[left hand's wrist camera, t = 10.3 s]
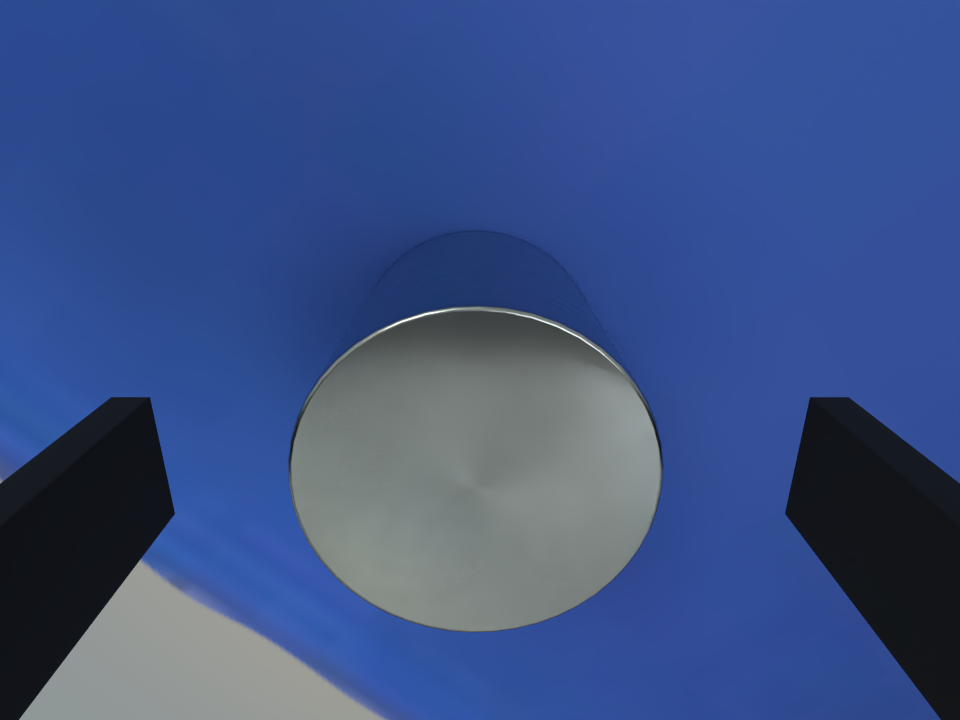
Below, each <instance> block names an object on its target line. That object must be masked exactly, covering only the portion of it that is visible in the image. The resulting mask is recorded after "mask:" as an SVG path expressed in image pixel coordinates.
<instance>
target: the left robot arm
mask: <svg viewBox="0 0 960 720" xmlns="http://www.w3.org/2000/svg"><path fill="white" fill-rule="evenodd" d="M174 514H175V512H174V507H173V503H172V498H171V493H170V489H169V484H168V479H167V475H166V470H165V465H164V461H163V456H162V451H161V447H160V442H159V437H158V433H157V428H156V424H155V419H154V414H153V410H152V405H151V400H150V397H111V398H110V399H109V400H107V401H106V402H105V403H104V404H102V405H101V406H100V407H98V408H97V409H96V410H95V411H93V412H92V413H91V414H89V415H88V416H87V417H86V418H84V419H83V420H82V421H80V422H79V423H78V424H77V425H75V426H74V427H73V428H71V429H70V430H69V431H67V432H66V433H65V434H64V435H62V436H61V437H60V438H58V439H57V440H56V441H55V442H53V443H52V444H51V445H49V446H48V447H47V448H46V449H44V450H43V451H42V452H40V453H39V454H38V455H37V456H35V457H34V458H33V459H31V460H30V461H29V462H28V463H26V464H25V465H24V466H22V467H21V468H20V469H19V470H17V471H16V472H15V473H13V474H12V475H11V476H10V477H8V478H7V479H6V480H4V481H3V482H2V483H1V484H0V720H19V719H20V717H21V716H22V715H23V713H24V712H25V711H26V710H27V708H28V707H29V706H30V704H31V703H32V702H33V700H34V699H35V698H36V696H37V695H38V694H39V692H40V691H41V690H42V688H43V687H44V686H45V684H46V683H47V682H48V681H49V679H50V678H51V677H52V675H53V674H54V673H55V671H56V670H57V669H58V667H59V666H60V665H61V663H62V662H63V661H64V659H65V658H66V657H67V655H68V654H69V653H70V651H71V650H72V649H73V648H74V646H75V645H76V644H77V642H78V641H79V640H80V638H81V637H82V636H83V634H84V633H85V632H86V630H87V629H88V628H89V626H90V625H91V624H92V622H93V621H94V620H95V618H96V617H97V616H98V615H99V613H100V612H101V611H102V609H103V608H104V607H105V605H106V604H107V603H108V601H109V600H110V599H111V597H112V596H113V595H114V593H115V592H116V591H117V589H118V588H119V587H120V585H121V584H122V583H123V582H124V580H125V579H126V578H127V576H128V575H129V574H130V572H131V571H132V570H133V568H134V567H135V566H136V564H137V563H138V562H139V560H140V559H141V558H142V556H143V555H144V554H145V553H146V551H147V550H148V549H149V547H150V546H151V545H152V543H153V542H154V541H155V539H156V538H157V537H158V535H159V534H160V533H161V531H162V530H163V529H164V527H165V526H166V525H167V523H168V522H169V521H170V520H171V518H172V517H173V516H174ZM785 514H786V516H787V517H788V518H789V520H790V521H791V522H792V523H793V525H794V526H795V527H796V529H797V530H798V531H799V533H800V534H801V535H802V537H803V538H804V539H805V541H806V542H807V543H808V545H809V546H810V547H811V549H812V550H813V551H814V553H815V554H816V555H817V556H818V558H819V559H820V560H821V562H822V563H823V564H824V566H825V567H826V568H827V570H828V571H829V572H830V574H831V575H832V576H833V578H834V579H835V580H836V582H837V583H838V584H839V586H840V587H841V588H842V589H843V591H844V592H845V593H846V595H847V596H848V597H849V599H850V600H851V601H852V603H853V604H854V605H855V607H856V608H857V609H858V611H859V612H860V613H861V615H862V616H863V617H864V619H865V620H866V621H867V622H868V624H869V625H870V626H871V628H872V629H873V630H874V632H875V633H876V634H877V636H878V637H879V638H880V640H881V641H882V642H883V644H884V645H885V646H886V648H887V649H888V650H889V652H890V653H891V654H892V655H893V657H894V658H895V659H896V661H897V662H898V663H899V665H900V666H901V667H902V669H903V670H904V671H905V673H906V674H907V675H908V677H909V678H910V679H911V681H912V682H913V683H914V685H915V686H916V687H917V688H918V690H919V691H920V692H921V694H922V695H923V696H924V698H925V699H926V700H927V702H928V703H929V704H930V706H931V707H932V708H933V710H934V711H935V712H936V714H937V715H938V716H939V718H940V719H941V720H960V484H959V483H958V482H957V481H956V480H954V479H953V478H952V477H950V476H949V475H948V474H947V473H945V472H944V471H943V470H941V469H940V468H939V467H938V466H936V465H935V464H934V463H932V462H931V461H930V460H929V459H927V458H926V457H925V456H923V455H922V454H921V453H920V452H918V451H917V450H916V449H914V448H913V447H912V446H911V445H909V444H908V443H907V442H905V441H904V440H903V439H902V438H900V437H899V436H898V435H896V434H895V433H894V432H893V431H891V430H890V429H889V428H887V427H886V426H885V425H883V424H882V423H881V422H880V421H878V420H877V419H876V418H874V417H873V416H872V415H871V414H869V413H868V412H867V411H865V410H864V409H863V408H862V407H860V406H859V405H858V404H856V403H855V402H854V401H853V400H851V399H850V398H849V397H810V400H809V405H808V410H807V414H806V419H805V424H804V428H803V433H802V437H801V442H800V447H799V451H798V456H797V461H796V465H795V470H794V475H793V479H792V484H791V489H790V493H789V498H788V503H787V507H786V512H785Z"/></svg>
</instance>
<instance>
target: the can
mask: <svg viewBox="0 0 960 720" xmlns="http://www.w3.org/2000/svg"><path fill="white" fill-rule="evenodd" d="M288 470H289V486H290V492H291V497H292V503H293V506H294V509H295V512H296V515H297V518H298V521H299V524H300V526H301V528H302V530H303V532H304V534H305V537H306V539H307V541H308V543H309V544H310V546H311V547H312V549H313V550H314V552H315V553H316V555H317V556H318V558H319V559H320V560H321V562H322V563H323V564H324V565H325V566H326V567H327V568H328V570H329V571H330V572H331V573H332V574H333V575H334V576H335V577H336V578H337V579H338V580H339V581H340V582H341V583H343V584H344V585H345V586H346V587H347V588H348V589H349V590H351V591H352V592H353V593H355V594H356V595H358V596H359V597H361V598H362V599H363V600H365V601H366V602H368V603H370V604H371V605H373V606H375V607H377V608H379V609H381V610H383V611H385V612H386V613H388V614H391V615H394V616H396V617H399V618H401V619H404V620H406V621H409V622H412V623H416V624H420V625H423V626H427V627H431V628H437V629H443V630H449V631H461V632H493V631H501V630H508V629H515V628H520V627H524V626H528V625H532V624H536V623H539V622H542V621H545V620H548V619H550V618H553V617H556V616H558V615H560V614H562V613H564V612H567V611H569V610H571V609H573V608H575V607H577V606H578V605H580V604H582V603H583V602H585V601H586V600H588V599H589V598H591V597H592V596H594V595H596V594H597V593H598V592H599V591H600V590H602V589H603V588H604V587H605V586H607V585H608V584H609V583H610V582H611V581H613V580H614V578H615V577H616V576H617V575H618V574H619V573H620V572H621V571H622V570H623V569H624V568H625V567H626V566H627V565H628V563H629V562H630V561H631V559H632V558H633V556H634V555H635V554H636V552H637V551H638V550H639V548H640V546H641V545H642V543H643V541H644V539H645V537H646V535H647V534H648V532H649V530H650V527H651V525H652V522H653V519H654V517H655V514H656V511H657V508H658V503H659V499H660V494H661V490H662V479H663V456H662V445H661V440H660V436H659V432H658V428H657V424H656V421H655V419H654V416H653V414H652V411H651V409H650V407H649V404H648V402H647V400H646V399H645V397H644V395H643V394H642V392H641V390H640V388H639V387H638V385H637V383H636V382H635V380H634V379H633V377H632V375H631V374H630V372H629V370H628V369H627V367H626V366H625V364H624V362H623V361H622V359H621V357H620V356H619V354H618V353H617V351H616V349H615V348H614V346H613V344H612V343H611V341H610V340H609V338H608V336H607V335H606V333H605V331H604V330H603V328H602V327H601V325H600V323H599V322H598V320H597V318H596V317H595V315H594V314H593V312H592V310H591V309H590V307H589V305H588V304H587V302H586V301H585V299H584V297H583V296H582V294H581V293H580V291H579V289H578V288H577V286H576V284H575V283H574V281H573V280H572V278H571V277H570V276H569V275H568V274H567V272H566V271H565V270H564V269H563V268H562V267H561V266H560V265H559V264H558V263H557V262H556V261H555V260H554V259H553V258H552V257H550V256H549V255H547V254H546V253H545V252H543V251H542V250H540V249H539V248H537V247H535V246H533V245H531V244H529V243H528V242H526V241H523V240H520V239H517V238H515V237H512V236H508V235H504V234H499V233H495V232H484V231H469V232H459V233H453V234H448V235H444V236H441V237H438V238H435V239H432V240H429V241H427V242H425V243H423V244H421V245H419V246H417V247H415V248H414V249H412V250H411V251H409V252H408V253H406V254H405V255H403V256H402V257H401V258H400V259H399V260H398V261H396V262H395V263H394V264H393V265H392V266H391V267H390V268H389V269H388V271H387V272H386V273H385V274H384V275H383V276H382V278H381V279H380V281H379V282H378V284H377V285H376V287H375V288H374V290H373V292H372V293H371V295H370V296H369V298H368V300H367V301H366V303H365V304H364V306H363V308H362V309H361V311H360V312H359V314H358V316H357V317H356V319H355V320H354V322H353V324H352V325H351V327H350V328H349V330H348V332H347V333H346V335H345V336H344V338H343V339H342V341H341V343H340V344H339V346H338V347H337V349H336V351H335V352H334V354H333V355H332V357H331V359H330V360H329V362H328V363H327V365H326V367H325V368H324V370H323V371H322V373H321V375H320V376H319V378H318V379H317V381H316V383H315V384H314V386H313V387H312V389H311V391H310V392H309V394H308V395H307V397H306V399H305V401H304V404H303V406H302V408H301V410H300V412H299V414H298V417H297V420H296V423H295V427H294V430H293V434H292V437H291V443H290V451H289V459H288Z"/></svg>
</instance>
